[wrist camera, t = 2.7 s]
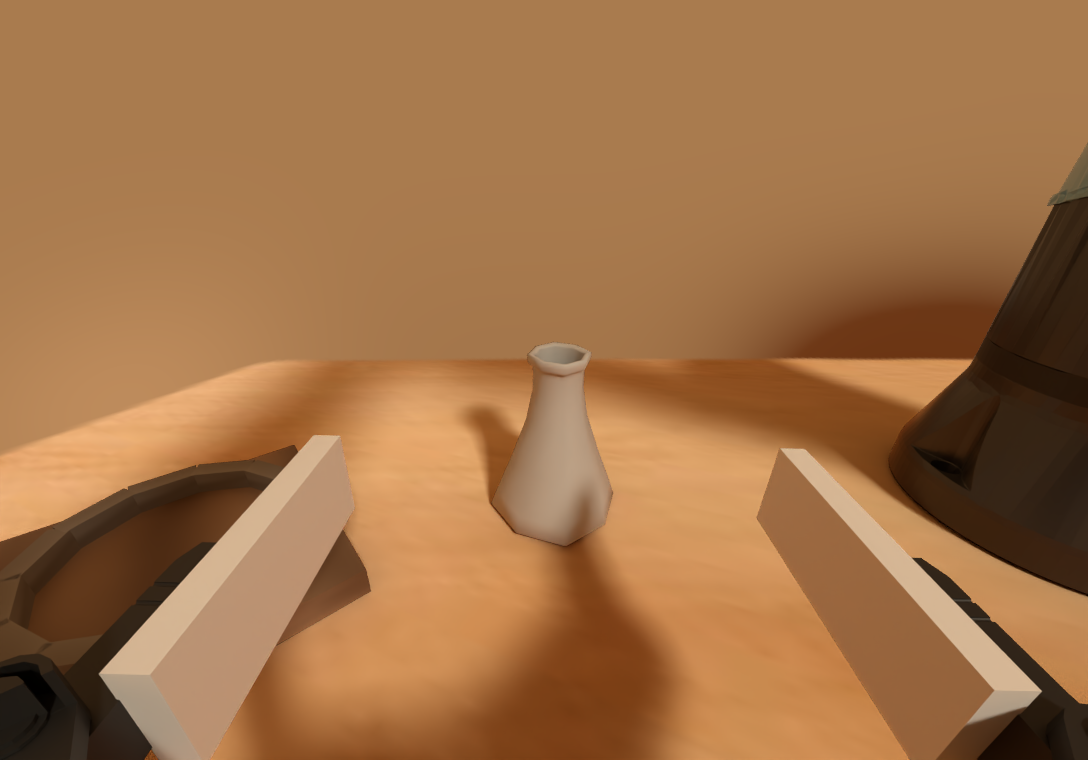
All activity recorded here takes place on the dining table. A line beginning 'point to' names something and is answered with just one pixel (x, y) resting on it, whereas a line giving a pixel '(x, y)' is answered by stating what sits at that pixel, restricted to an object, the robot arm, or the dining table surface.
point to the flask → (555, 455)
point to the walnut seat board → (142, 558)
